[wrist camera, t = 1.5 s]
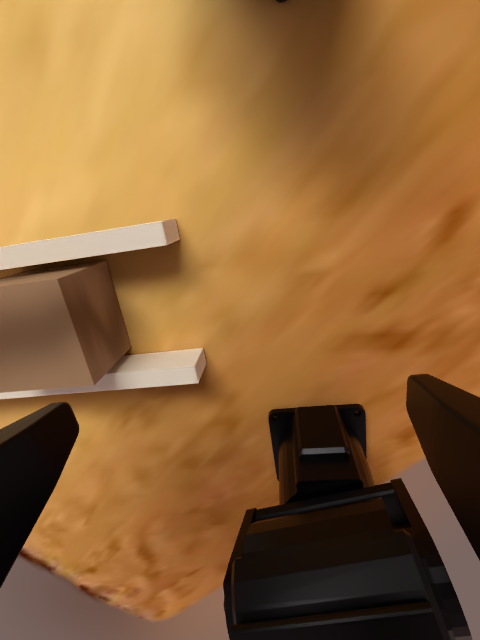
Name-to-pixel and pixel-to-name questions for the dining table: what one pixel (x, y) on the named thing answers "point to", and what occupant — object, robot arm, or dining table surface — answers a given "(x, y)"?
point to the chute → (128, 368)
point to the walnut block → (59, 328)
